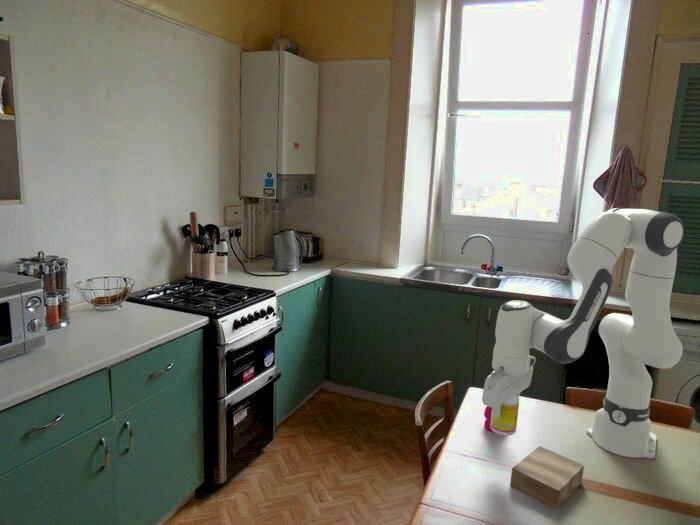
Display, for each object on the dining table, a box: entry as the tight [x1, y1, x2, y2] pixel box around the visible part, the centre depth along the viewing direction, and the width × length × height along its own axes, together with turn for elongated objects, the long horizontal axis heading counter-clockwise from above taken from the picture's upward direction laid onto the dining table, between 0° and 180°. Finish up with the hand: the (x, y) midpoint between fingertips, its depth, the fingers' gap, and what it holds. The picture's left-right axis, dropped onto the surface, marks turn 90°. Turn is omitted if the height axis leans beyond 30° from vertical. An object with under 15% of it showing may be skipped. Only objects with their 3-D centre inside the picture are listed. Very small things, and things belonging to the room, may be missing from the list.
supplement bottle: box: [490, 386, 520, 437], centre depth 134 cm, size 7×7×13 cm
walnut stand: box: [509, 445, 585, 510], centre depth 130 cm, size 16×12×5 cm
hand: (504, 411), depth 134 cm, fingers closed on supplement bottle, 7 cm apart
